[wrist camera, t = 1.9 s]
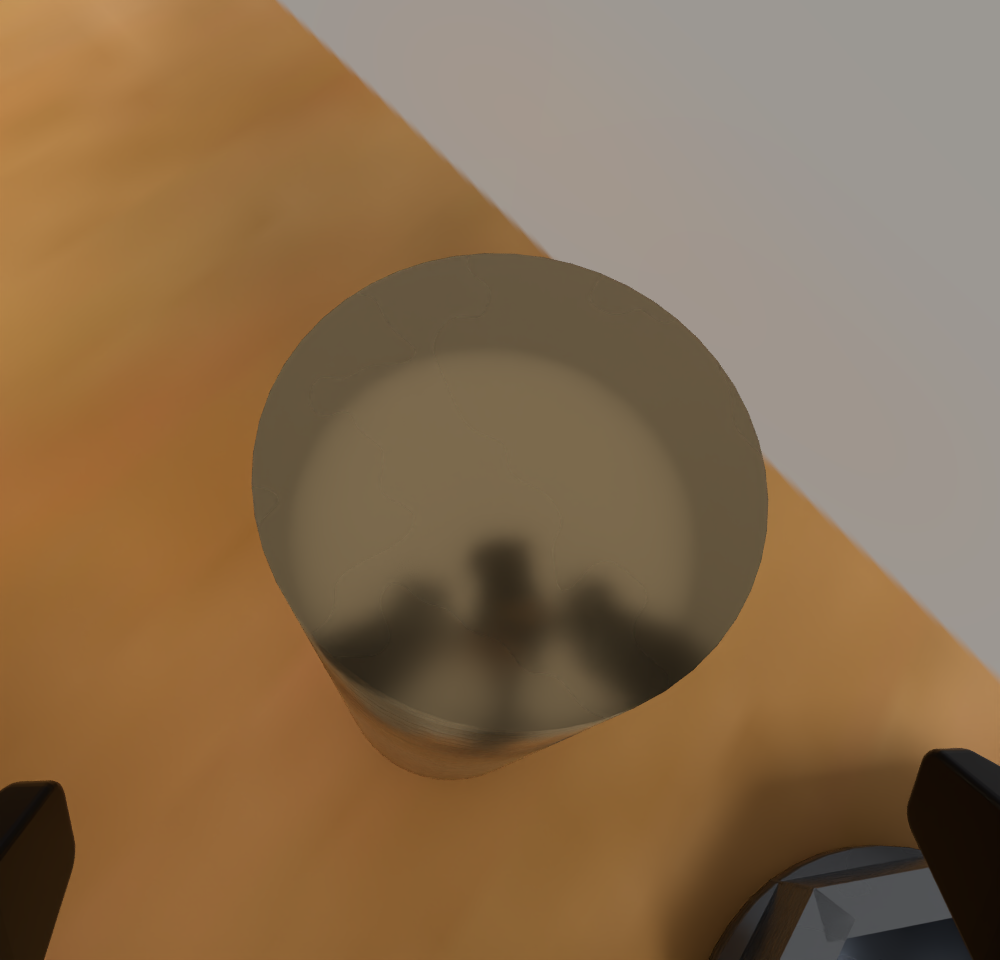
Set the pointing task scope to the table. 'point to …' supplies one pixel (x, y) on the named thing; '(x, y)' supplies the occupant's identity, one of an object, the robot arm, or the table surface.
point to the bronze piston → (505, 505)
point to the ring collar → (847, 911)
